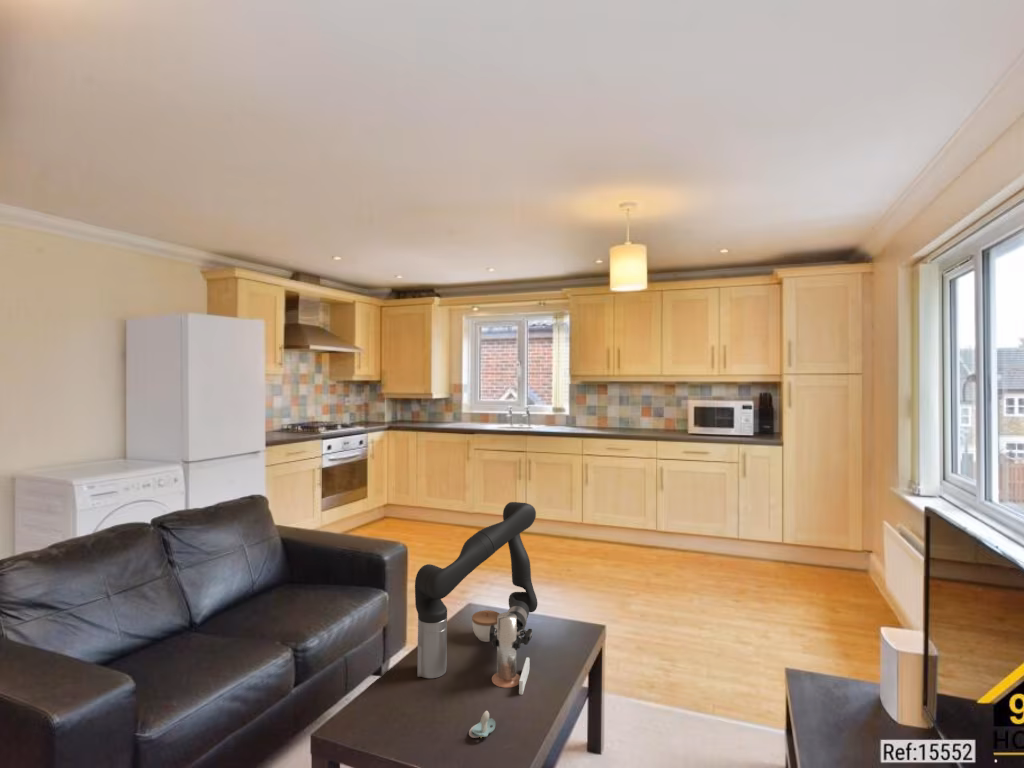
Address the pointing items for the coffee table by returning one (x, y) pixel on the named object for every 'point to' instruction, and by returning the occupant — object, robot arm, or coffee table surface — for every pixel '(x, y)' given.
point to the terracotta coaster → (505, 681)
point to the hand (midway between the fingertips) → (505, 645)
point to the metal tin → (506, 645)
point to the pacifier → (483, 726)
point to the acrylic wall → (524, 676)
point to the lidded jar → (484, 623)
